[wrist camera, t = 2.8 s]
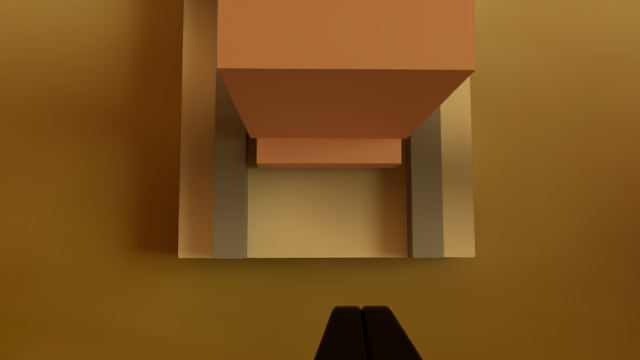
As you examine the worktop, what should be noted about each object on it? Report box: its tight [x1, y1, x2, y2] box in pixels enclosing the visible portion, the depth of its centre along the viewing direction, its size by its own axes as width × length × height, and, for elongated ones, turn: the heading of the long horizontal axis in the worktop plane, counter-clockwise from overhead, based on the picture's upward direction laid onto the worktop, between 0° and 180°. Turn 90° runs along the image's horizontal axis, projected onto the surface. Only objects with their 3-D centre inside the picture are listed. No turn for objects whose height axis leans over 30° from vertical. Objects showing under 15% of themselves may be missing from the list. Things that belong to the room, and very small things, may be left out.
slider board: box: [178, 0, 475, 259], centre depth 22 cm, size 18×10×3 cm, turn 0°
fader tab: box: [217, 0, 476, 168], centre depth 16 cm, size 4×5×9 cm
